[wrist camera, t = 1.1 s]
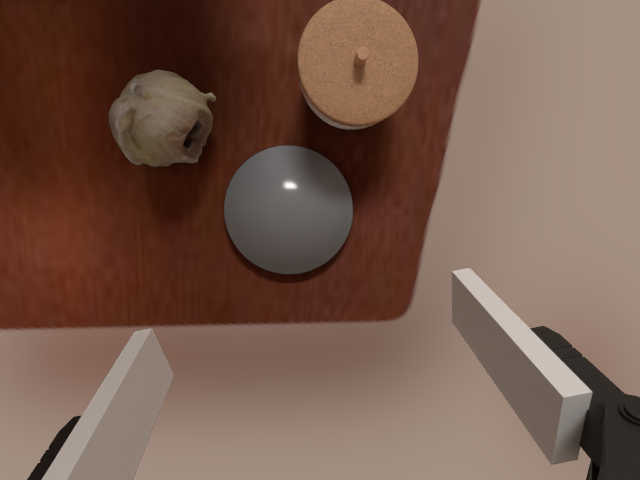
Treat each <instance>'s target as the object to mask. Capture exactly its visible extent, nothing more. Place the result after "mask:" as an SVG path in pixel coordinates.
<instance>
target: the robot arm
mask: <svg viewBox="0 0 640 480" xmlns="http://www.w3.org/2000/svg"><path fill="white" fill-rule="evenodd" d="M452 318H453V319H452V322H453V324H454V325H455V326H456V328H457V329H458V331H459V332H460V334H461V335H462V337H463V338H464V339H465V341H466V342H467V344H468V345H469V346H470V348H471V349H472V351H473V352H474V354H475V355H476V357H477V358H478V360H479V361H480V362H481V364H482V365H483V367H484V368H485V370H486V371H487V373H488V374H489V375H490V377H491V378H492V380H493V381H494V383H495V384H496V386H497V387H498V388H499V390H500V391H501V392H502V394H503V395H504V397H505V398H506V400H507V401H508V403H509V404H510V406H511V407H512V408H513V410H514V411H515V413H516V414H517V416H518V417H519V419H520V420H521V422H522V423H523V424H524V426H525V427H526V429H527V430H528V432H529V433H530V434H531V436H532V437H533V439H534V440H535V442H536V443H537V445H538V446H539V447H540V449H541V450H542V452H543V453H544V454H545V456H546V457H547V459H548V460H549V462H550V463H551V464H558V463H563V462H568V461H573V460H577V459H578V454H579V450H580V446H581V447H582V449H583V450H584V451H585V452H586V453H587V455H588V456H589V457H590V458H591V462H590V466H589V470H588V474H587V478H586V480H640V397H637V396H633V395H627V394H625V393H623V392H622V391H621V390H620V389H619V388H618V387H617V386H616V385H614V384H613V383H612V382H611V381H610V380H609V379H608V378H607V377H606V376H605V375H604V374H603V373H601V372H600V371H599V370H598V369H597V368H596V367H595V366H594V365H593V364H592V363H590V362H589V361H588V360H587V359H586V358H585V357H582V354H581V353H580V352H578V351H577V350H576V349H575V348H573V347H572V345H571V344H570V343H569V342H568V341H566V340H565V339H564V338H563V337H562V336H561V335H560V334H558V333H556V332H554V331H552V330H550V329H549V328H547V327H545V326H541V327H536V328H529V327H528V326H527V325H526V324H525V323H524V322H523V321H522V320H521V319H520V318H519V317H518V316H517V315H516V314H515V313H514V312H513V311H512V310H511V309H510V308H509V307H508V306H507V305H505V303H504V302H503V301H502V300H501V299H500V298H499V297H498V296H497V295H496V294H495V293H494V292H493V291H492V290H491V289H490V288H489V287H488V286H487V285H486V284H485V283H484V282H483V281H482V280H481V279H480V278H479V277H478V276H477V275H476V274H475V273H474V272H473V271H472V270H471V269H470V268H466V269H461V270H456V271H452ZM173 376H174V375H173V372H172V370H171V368H170V366H169V364H168V361H167V360H166V357H165V355H164V353H163V351H162V349H161V346H160V344H159V342H158V340H157V338H156V336H155V334H154V331H153V329H152V328H151V329H145V330H140V331H135V332H134V333H133V335H132V336H131V338H130V339H129V341H128V343H127V344H126V346H125V347H124V349H123V351H122V352H121V354H120V355H119V357H118V359H117V360H116V362H115V363H114V365H113V367H112V368H111V370H110V371H109V373H108V375H107V376H106V378H105V379H104V381H103V383H102V384H101V386H100V387H99V389H98V391H97V392H96V394H95V395H94V397H93V399H92V400H91V402H90V403H89V405H88V406H87V408H86V410H85V411H84V413H83V414H82V415H81V416H76V417H73V418H72V419H71V420H70V421H69V422H68V423H67V424H66V425H65V426H64V427H63V428H62V429H61V430H60V431H59V432H58V434H57V435H56V437H55V438H54V440H53V442H52V443H51V444H50V446H49V450H46V452H45V453H44V455H43V456H42V458H41V460H40V463H38V464H37V466H36V467H35V469H34V470H33V472H32V473H31V475H30V476H29V478H28V479H27V480H133V478H134V475H135V473H136V470H137V468H138V465H139V463H140V460H141V457H142V455H143V452H144V450H145V447H146V445H147V442H148V440H149V437H150V435H151V432H152V429H153V427H154V425H155V422H156V419H157V417H158V414H159V412H160V409H161V407H162V404H163V402H164V399H165V397H166V394H167V392H168V389H169V387H170V384H171V382H172V379H173Z"/></svg>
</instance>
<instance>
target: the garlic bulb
mask: <svg viewBox="0 0 640 480" xmlns="http://www.w3.org/2000/svg"><path fill="white" fill-rule="evenodd" d="M207 100H210V101H212V102H214V101H216V97H215V96H214V95H213V94H212V93H208V94H203V93H201V92H200V91H199V90H198V89H197V88H195V87H194V86H193V85H192V84H190V83H189V82H188V81H187V80H185V79H183V78H182V77H181V76H179V75H177V74H176V73H173V72H169V71H164V70H154V71H152V72H149V73H145V74H138V75H136V76H135V77H134V78H133V79H132V80H130V81H129V82H128V84H127V86H126V87H125V88H124V90H123V91H122V92H121V95H120V98H118V99H116V100H115V101H114V103H113V104H112V106H111V109H110V111H109V124H110V127H111V130H112V134H113V137H114V139H115V140H116V142H117V144H118V145H119V147H120V149H121V150H122V152H123V153H124V155H125V156H126V157H127V158H128V160H130V161H131V162H132V163H134V164H136V165H141V164H147V165H149V166H151V167H159V166H169V165H171V164H173V163H185V162H187V163H196V162H197V161H198V159H199V156H200V155H201V153H202V147H203V146H204V145H205V144H206V140H207V136H208V135H209V133H210V132H211V130H212V123H213V115H212V113H211V111H210V110H209V108H208V107H207Z"/></svg>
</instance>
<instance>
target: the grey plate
mask: <svg viewBox="0 0 640 480" xmlns="http://www.w3.org/2000/svg"><path fill="white" fill-rule="evenodd" d="M224 216H225V223H226V226H227V230H228V233H229V235H230V237H231V239H232V241H233V243H234V244H235V246H236V247H237V249H238V250H239V251H240V252H241V253H242V254H243V255H244V256H245V257H246V258H247V259H248V260H249V261H251V262H252V263H253V264H255V265H257V266H259V267H260V268H263V269H265V270H268V271H271V272H275V273H280V274H298V273H303V272H307V271H310V270H313V269H315V268H318V267H319V266H321V265H323V264H325V263H326V262H327V261H329V260H330V259H331V258H332V257H333V256H334V255H335V254H336V253H337V252H338V251H339V249H340V248H341V247H342V245H343V244H344V242H345V240H346V238H347V236H348V234H349V231H350V228H351V224H352V218H353V204H352V197H351V193H350V190H349V187H348V184H347V182H346V181H345V179H344V177H343V175H342V174H341V172H340V171H339V170H338V169H337V167H336V166H335V165H334V164H333V163H332V162H330V161H329V160H328V159H327V158H325V157H324V156H322V155H321V154H319V153H317V152H315V151H313V150H310V149H307V148H304V147H298V146H277V147H273V148H269V149H266V150H264V151H261V152H259V153H257V154H255V155H254V156H252V157H251V158H250V159H248V160H247V161H246V162H245V163H244V164H243V165H242V166H241V167H240V168H239V169H238V170H237V172H236V173H235V174H234V176H233V178H232V180H231V181H230V184H229V186H228V189H227V192H226V196H225V203H224Z"/></svg>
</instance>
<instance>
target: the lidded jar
mask: <svg viewBox="0 0 640 480" xmlns="http://www.w3.org/2000/svg"><path fill="white" fill-rule="evenodd" d="M297 67H298V74H299V81H300V86H301V89H302V93H303V95H304V97H305V100H306V102H307V104H308V105H309V107H310V108H311V110H312V111H313V112H314V113H315V114H316V115H317V116H318V117H319V118H320V119H322V120H323V121H324V122H326V123H328V124H330V125H332V126H334V127H337V128H341V129H346V130H356V129H363V128H366V127H370V126H372V125H375V124H377V123H379V122H381V121H383V120H385V119H386V118H388V117H389V116H391V115H392V114H394V113H395V112H396V111H397V110H398V109H399V108H400V107H401V106H402V105H403V104H404V102H405V101H406V100H407V98H408V97H409V95H410V93H411V91H412V89H413V87H414V84H415V81H416V77H417V72H418V50H417V46H416V42H415V39H414V36H413V34H412V31H411V29H410V28H409V26H408V24H407V22H406V21H405V20H404V19H403V17H402V16H401V15H400V14H399V13H398V12H397V11H396V10H395V9H393V8H392V7H391V6H389V5H388V4H386V3H384V2H382V1H380V0H334V1H332V2H330V3H328V4H327V5H325V6H324V7H322V8H321V9H320V10H319V11H318V12H317V13H316V14H315V15H314V16H313V17H312V18H311V20H310V21H309V22H308V24H307V26H306V28H305V30H304V31H303V33H302V36H301V40H300V43H299V48H298V55H297Z"/></svg>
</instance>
